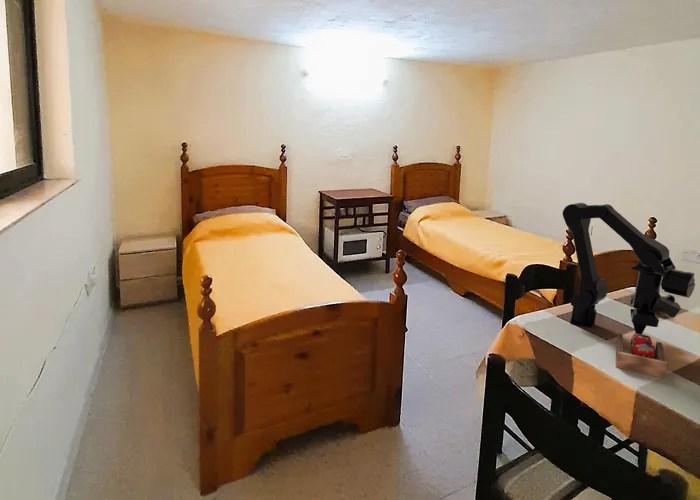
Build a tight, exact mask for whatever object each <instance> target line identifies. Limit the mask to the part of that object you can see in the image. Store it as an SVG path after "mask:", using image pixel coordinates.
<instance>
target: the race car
mask: <svg viewBox="0 0 700 500" xmlns="http://www.w3.org/2000/svg"><path fill="white" fill-rule="evenodd" d="M630 339H631V340H630V348H631V349H630V350H631V354H633V355H638V356H642V357H647V358H651V359H655V349H654V348H656V345H653V341H652V338H651V336H649V335H646V334H643V333H642V334H636V333H633V335H632V337H631V338H630Z"/></svg>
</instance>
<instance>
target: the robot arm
mask: <svg viewBox="0 0 700 500" xmlns="http://www.w3.org/2000/svg"><path fill="white" fill-rule="evenodd" d="M562 217H563V219H564V220H563V221H564V222H565V225H566V227H567V228H568V229H569V231H570V233H572V238H573V244H574V248H575V255H576V259H577V263H578V264H577V265H578V268H579V273H580V274H579V275H580V277H579V283H578V294H576V295H575V296H572V297H571V298H570V299H569V301H570V305H571V306H572V312H571V317H570V321H569V323H570V324H572V325H578V326H582V327H587V328H593V325H595V323H596V317H597V311H598V310H597V309H596V305H599V303H600V301H602V300H605V298H606V297H607V295H608V291H609V289H608V287H607V279H606V278H601V277H600V275H599V274H598V272H597V266H596V262H595V256H594V251H593V247H592V241H591V235H590V231H589V229H590V226H591V225H590V224H591V219H601V221H603V223H604V224H606V226H608V227H609V228H610V229H611V230H612V231H614V232H615V233H616V234H617V235H619V237H620V238H622V240H624V241H625V242H626V243H627V244H629V246H630V247H631V248H632V251H633V253H634V255H635V256H636V257H637V258H638V260H639V262H638V263H637V264H635V265H633V266H631V270H634V271H638V276H637V282H636V286H635V289H634V294H633V295H631V296H630V299H629V305H632V308H631V309H630V318H631V323H632V325H633V328H634V334H643V333H644V331H645V330H646V327H653V328H658V327H659V323H660V320H659V316H658V314H655V313H654V312H658V310H659V311H661V313H664V314H666V315H668V316H669V317H671V318H673V319H675V317H676V316H677V315H678V313H679V312H680V311H681V310H682V308H681V305H680V304H679V303H678V302H676V298H675V296H674V295H676V296H679V297H684V298H687V299H688V298H689V299H690V297H691V296H692V294H693V292H694V290H695V286H696V283H695V281H696V280H695V273H694V272H691V271H683V270H678V269H676V266H675V264H674V263H673V261H672V259H671V257H670V249H669V248H668V247H667V246H665V244H663V243H661V242H660V241H658V240H656V239H655V238H652V237H649V236H647V235H646V234H644V233H643V232H641V230H639V229H638V228H637V227H636V226H635V225H633V224H632V223H630V221H629V220H627V218H625V217H624V216H623V215H622V214H621V213H619V212H618V211H617V210H616V209H614V207H613V205H611V204H608V203H606V204H592V205H591V204H589V205H588V204H586V203H584V202H577V203H572V204H568V205H566V206H565V207H564V209H563V210H562ZM660 288H661V289H662V290H663V291H664V292H665V293H669V294H667V295H665V296H662V294H660V293H661V291H660V290H661V289H660ZM652 311H653V312H652Z"/></svg>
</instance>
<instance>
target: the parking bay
mask: <svg viewBox="0 0 700 500" xmlns="http://www.w3.org/2000/svg"><path fill="white" fill-rule="evenodd" d="M623 337H624V336H623V334H621V333H617V336H616V343H615V368H620V369H624V370H629V371H632V372H633V371H634V372H638V373H640V374H641V373H642V374H646V375H648V376H649V375H650V376H655V377H657V378H663V379H664V378H665V376H666V371H667V366H668V362H667V361H666V359H665V352H664V346H663V342H660V341H656V345H655V347H654V357H655V358H653V359H651V358H647V357H642V356H638V355H633V354H632V353H628V352H623V346H624V345H623V342H624V340H623V339H624V338H623Z"/></svg>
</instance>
